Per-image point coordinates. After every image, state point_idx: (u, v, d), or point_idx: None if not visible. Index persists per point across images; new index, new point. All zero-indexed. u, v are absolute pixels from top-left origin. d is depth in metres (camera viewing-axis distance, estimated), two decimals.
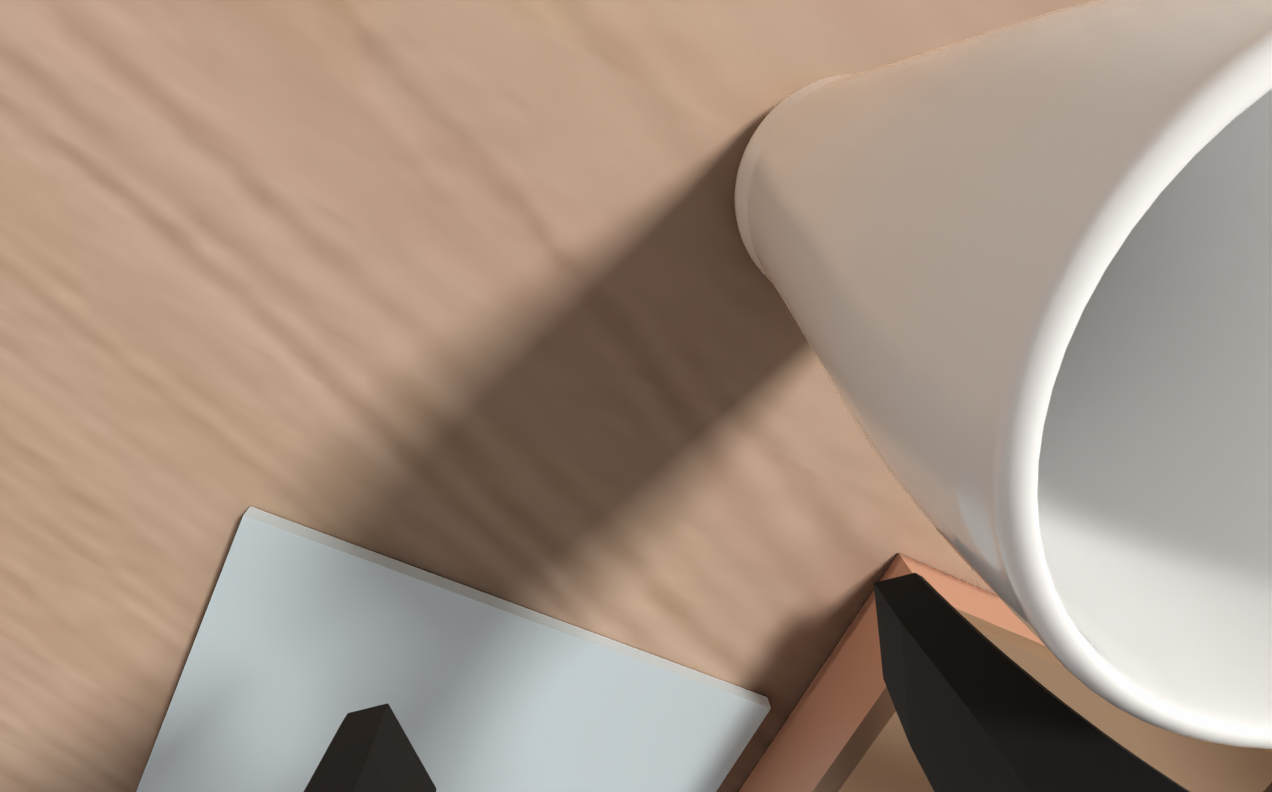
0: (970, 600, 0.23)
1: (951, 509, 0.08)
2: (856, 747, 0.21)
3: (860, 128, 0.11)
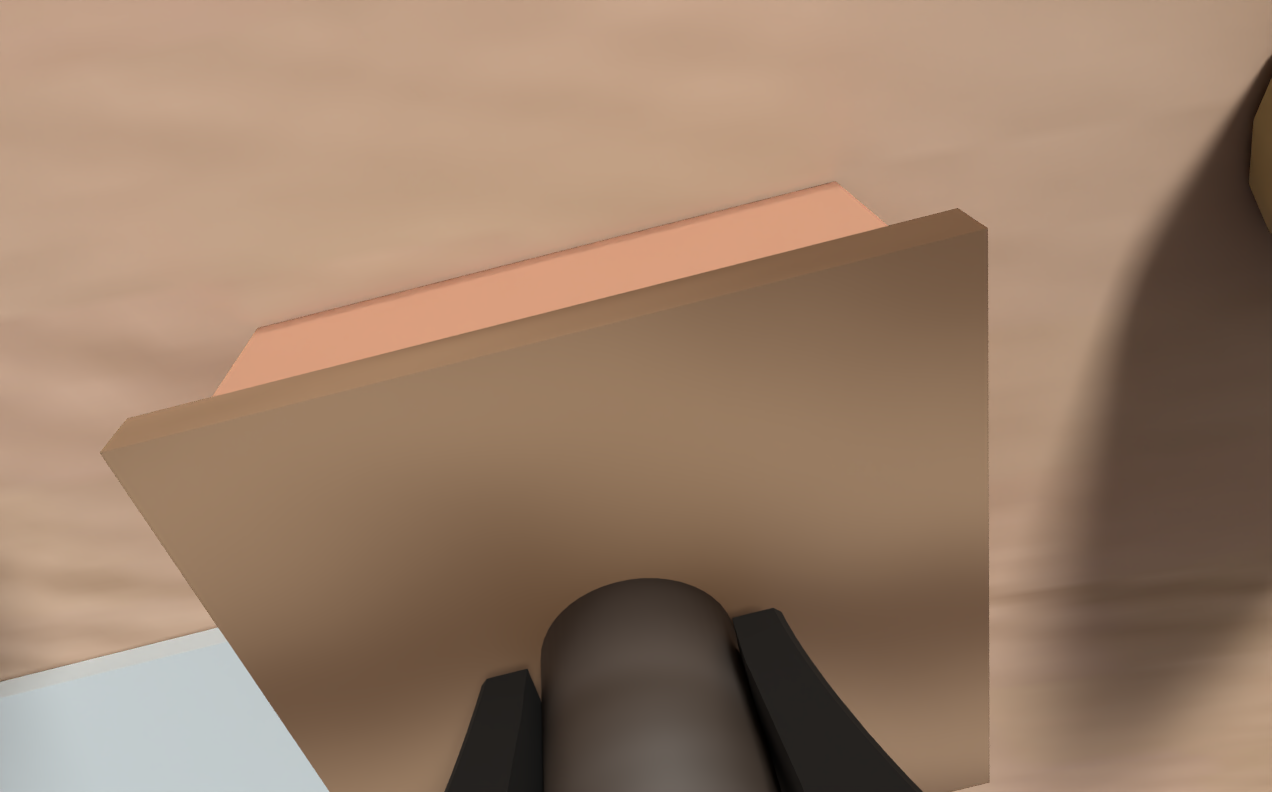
0: (351, 333, 0.13)
1: None
2: None
3: None
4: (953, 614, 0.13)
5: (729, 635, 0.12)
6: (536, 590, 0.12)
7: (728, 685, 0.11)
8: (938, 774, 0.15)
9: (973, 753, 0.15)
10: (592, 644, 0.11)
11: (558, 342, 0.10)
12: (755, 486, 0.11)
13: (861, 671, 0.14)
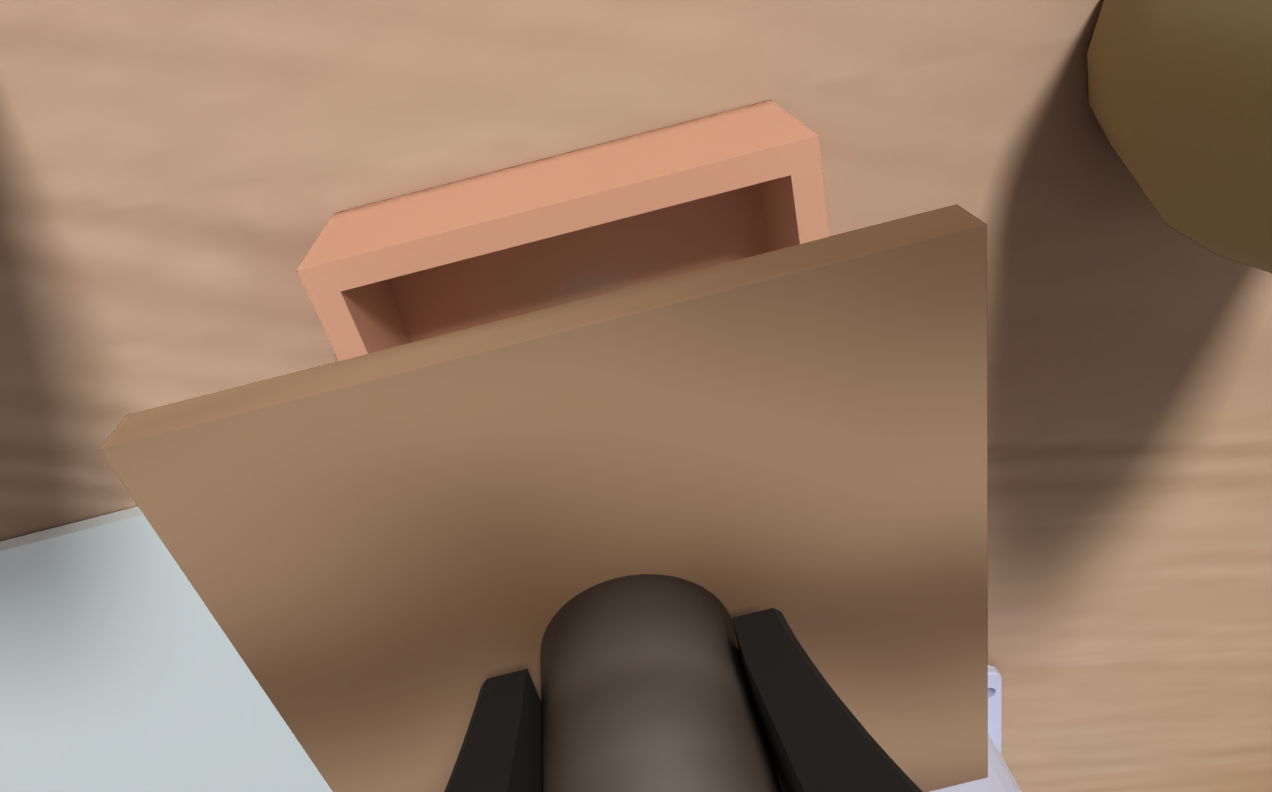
0: (408, 209, 0.17)
1: None
2: None
3: None
4: (952, 610, 0.13)
5: (728, 631, 0.12)
6: (537, 587, 0.12)
7: (726, 680, 0.11)
8: (936, 769, 0.15)
9: (972, 748, 0.15)
10: (591, 640, 0.11)
11: (557, 339, 0.10)
12: (754, 482, 0.11)
13: (860, 667, 0.14)
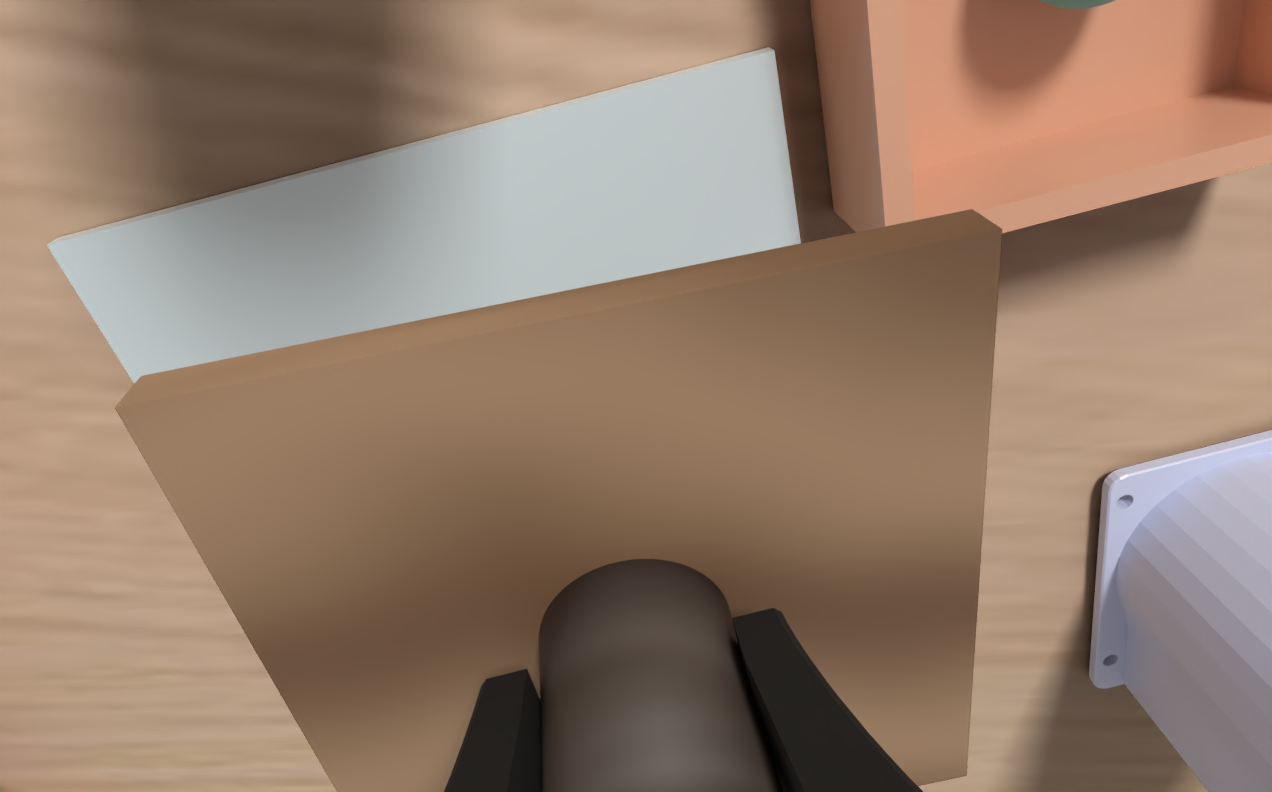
0: None
1: None
2: None
3: None
4: (943, 607, 0.13)
5: (727, 618, 0.12)
6: (539, 566, 0.12)
7: (726, 664, 0.11)
8: (917, 766, 0.16)
9: (952, 746, 0.15)
10: (594, 620, 0.11)
11: (579, 319, 0.10)
12: (761, 472, 0.12)
13: (850, 661, 0.14)
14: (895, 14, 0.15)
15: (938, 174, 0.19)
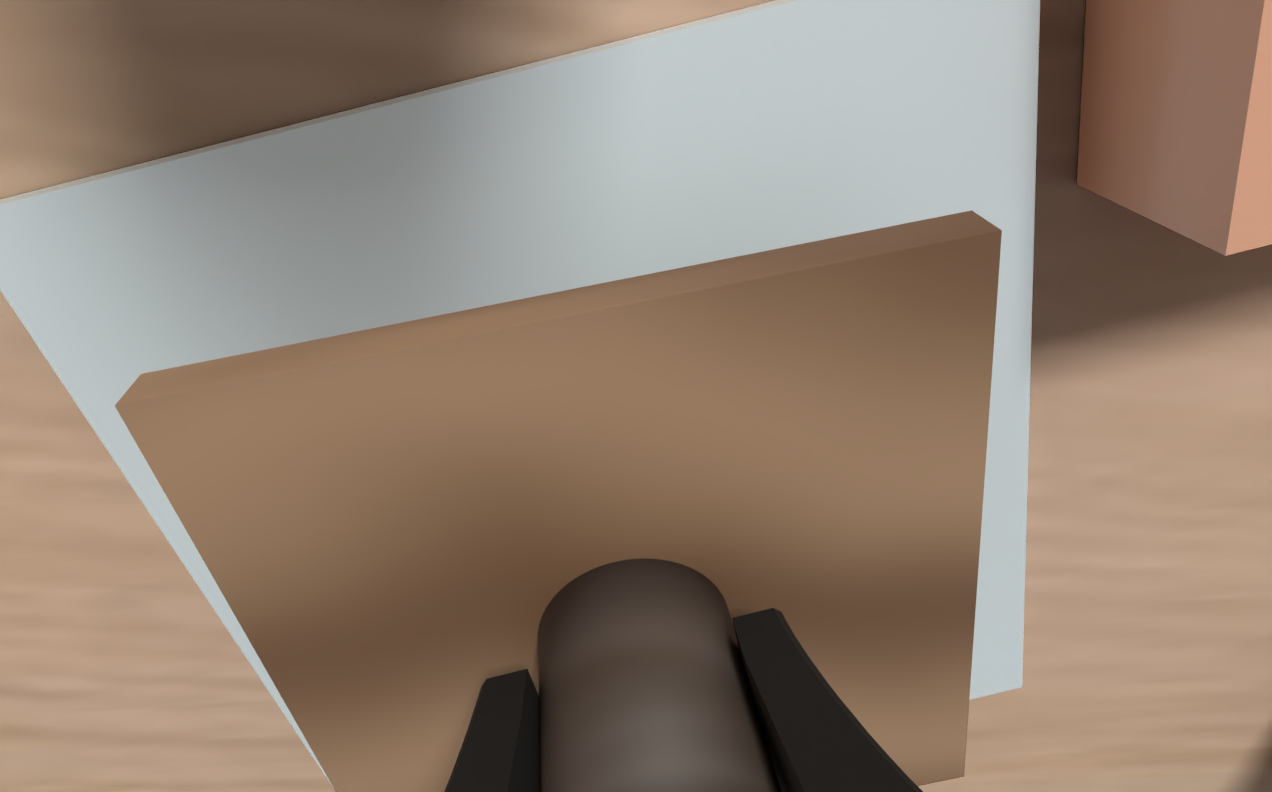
0: None
1: None
2: None
3: None
4: (941, 608, 0.13)
5: (726, 618, 0.12)
6: (539, 565, 0.12)
7: (725, 664, 0.11)
8: (915, 766, 0.16)
9: (950, 747, 0.15)
10: (593, 620, 0.11)
11: (579, 319, 0.10)
12: (760, 472, 0.12)
13: (848, 661, 0.14)
14: None
15: None
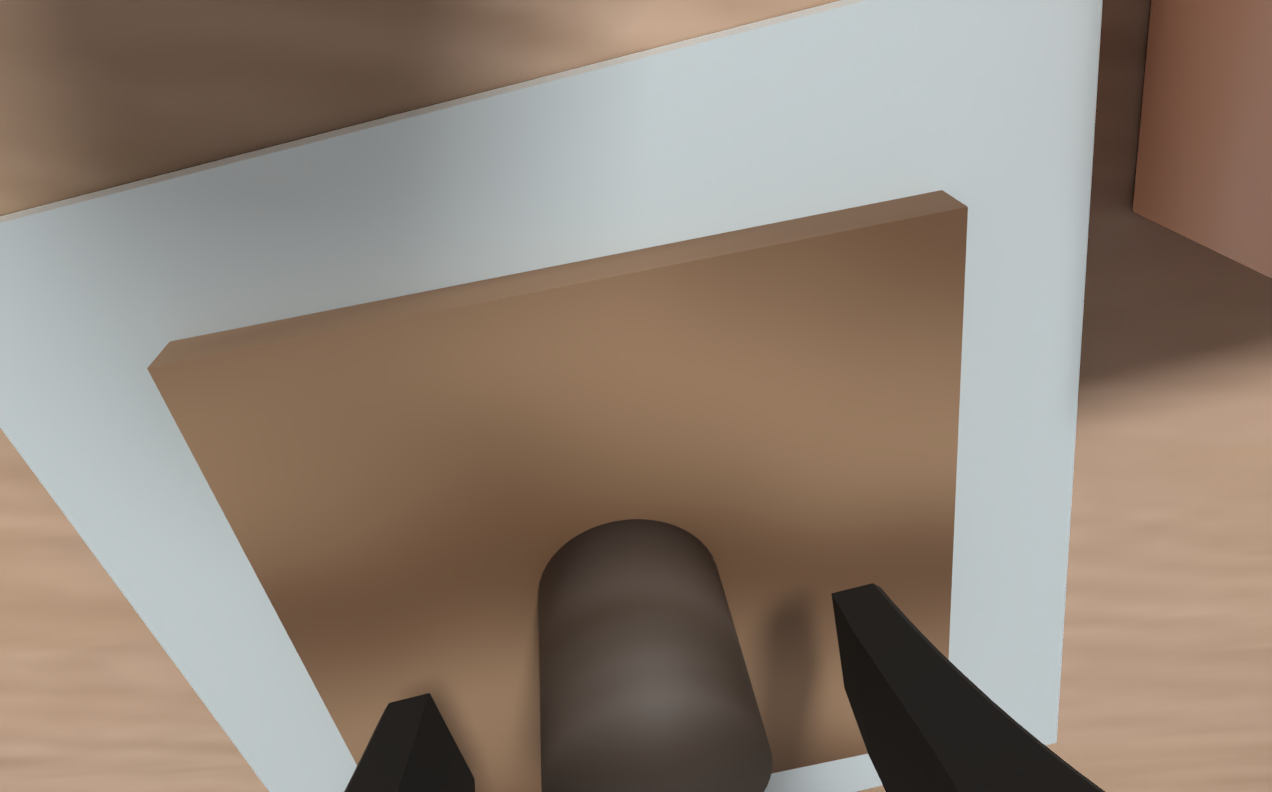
0: None
1: None
2: None
3: None
4: (919, 570, 0.14)
5: (715, 575, 0.13)
6: (539, 525, 0.13)
7: (713, 613, 0.12)
8: None
9: None
10: (590, 573, 0.12)
11: (577, 289, 0.11)
12: (746, 436, 0.12)
13: (833, 622, 0.15)
14: None
15: None
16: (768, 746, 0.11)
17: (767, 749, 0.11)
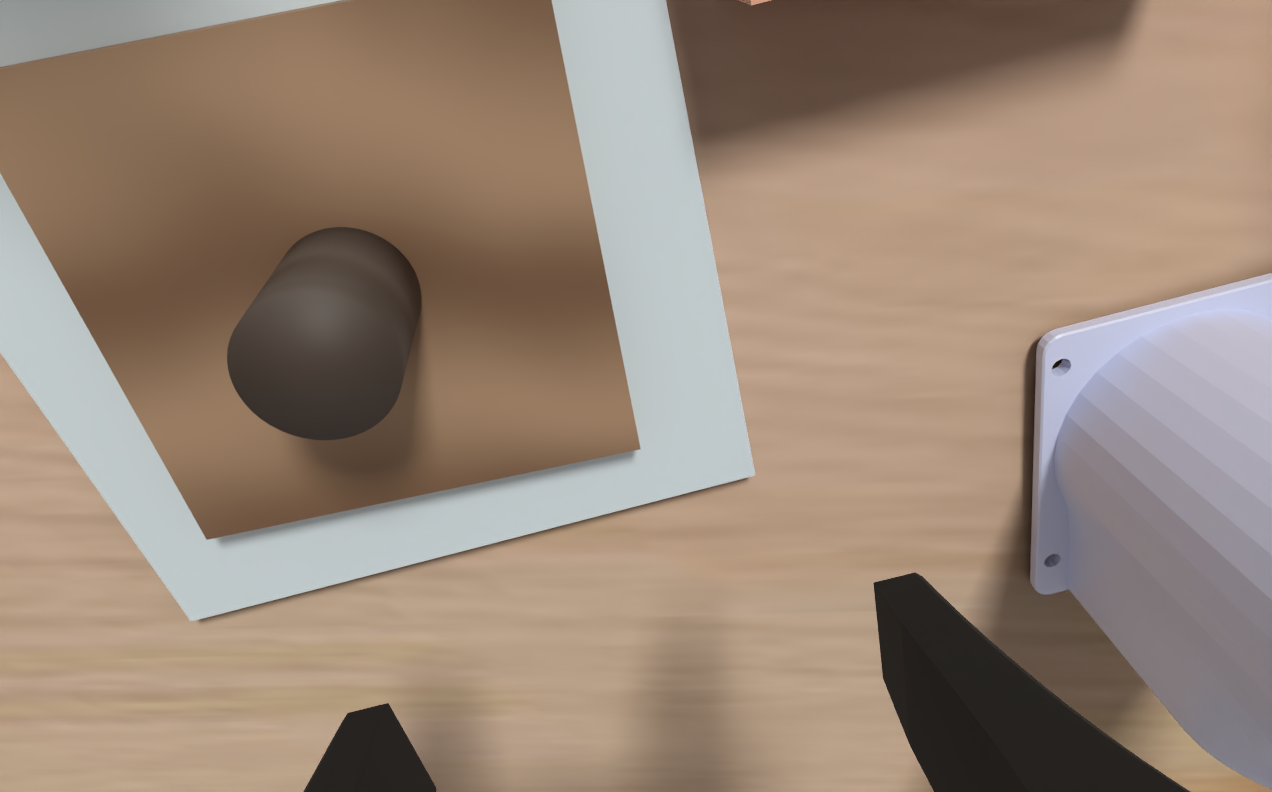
0: None
1: None
2: None
3: None
4: (581, 284, 0.19)
5: (401, 267, 0.17)
6: (267, 229, 0.17)
7: (377, 273, 0.16)
8: (598, 436, 0.21)
9: (622, 419, 0.20)
10: (294, 252, 0.16)
11: (260, 23, 0.15)
12: (415, 155, 0.17)
13: (521, 330, 0.19)
14: None
15: None
16: (392, 341, 0.15)
17: (393, 346, 0.15)
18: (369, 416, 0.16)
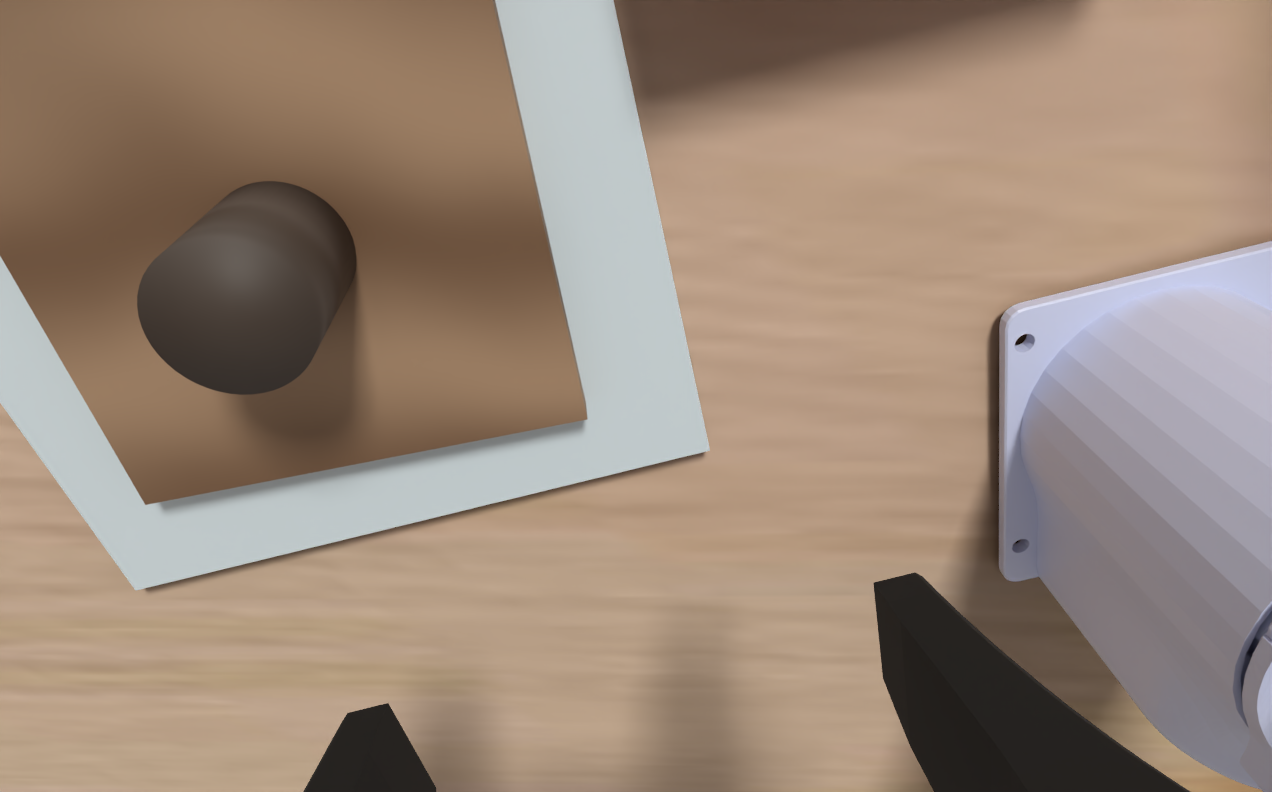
0: None
1: None
2: None
3: None
4: (521, 245, 0.18)
5: (331, 223, 0.17)
6: (196, 182, 0.17)
7: (300, 225, 0.16)
8: (543, 405, 0.20)
9: (567, 387, 0.20)
10: (218, 204, 0.16)
11: None
12: (345, 107, 0.16)
13: (460, 292, 0.18)
14: None
15: None
16: (307, 291, 0.14)
17: (309, 296, 0.15)
18: (287, 370, 0.15)
